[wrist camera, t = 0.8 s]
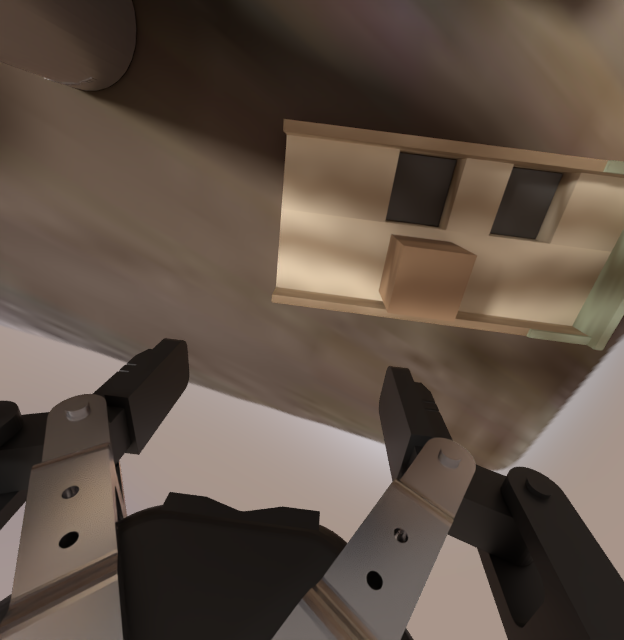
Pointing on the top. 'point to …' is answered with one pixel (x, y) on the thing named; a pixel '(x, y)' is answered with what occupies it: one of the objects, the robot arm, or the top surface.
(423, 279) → the walnut block
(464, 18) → the top surface
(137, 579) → the robot arm
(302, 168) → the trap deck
